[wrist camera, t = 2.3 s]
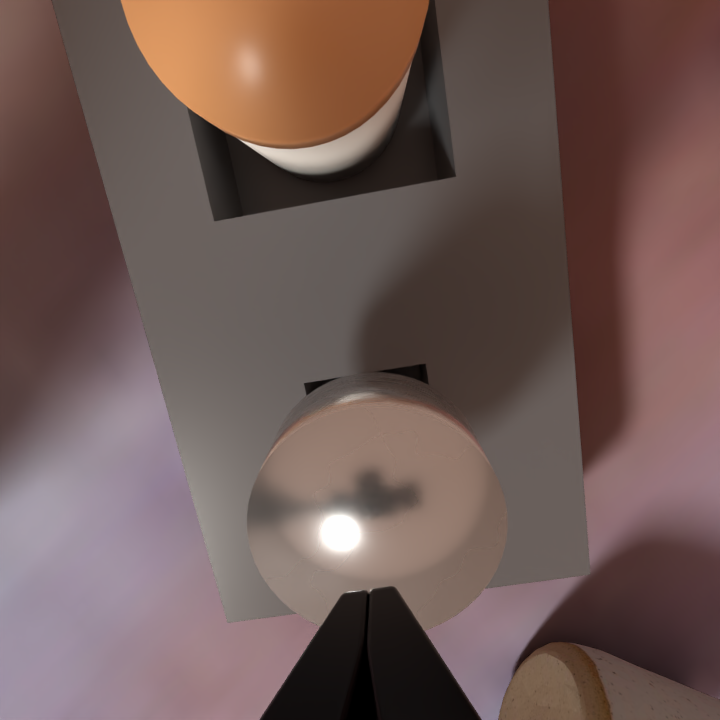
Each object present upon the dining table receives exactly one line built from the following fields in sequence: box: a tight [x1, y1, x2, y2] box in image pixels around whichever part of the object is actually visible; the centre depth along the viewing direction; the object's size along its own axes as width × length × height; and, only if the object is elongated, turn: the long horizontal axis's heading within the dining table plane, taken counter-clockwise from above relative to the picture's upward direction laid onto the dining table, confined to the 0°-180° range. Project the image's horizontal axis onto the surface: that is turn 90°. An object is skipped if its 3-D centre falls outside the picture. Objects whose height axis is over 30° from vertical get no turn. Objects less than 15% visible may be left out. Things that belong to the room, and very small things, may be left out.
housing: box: [52, 0, 590, 623], centre depth 16 cm, size 12×22×4 cm, turn 10°
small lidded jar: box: [121, 0, 429, 182], centre depth 12 cm, size 5×5×8 cm
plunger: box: [247, 371, 508, 631], centre depth 13 cm, size 5×5×7 cm
